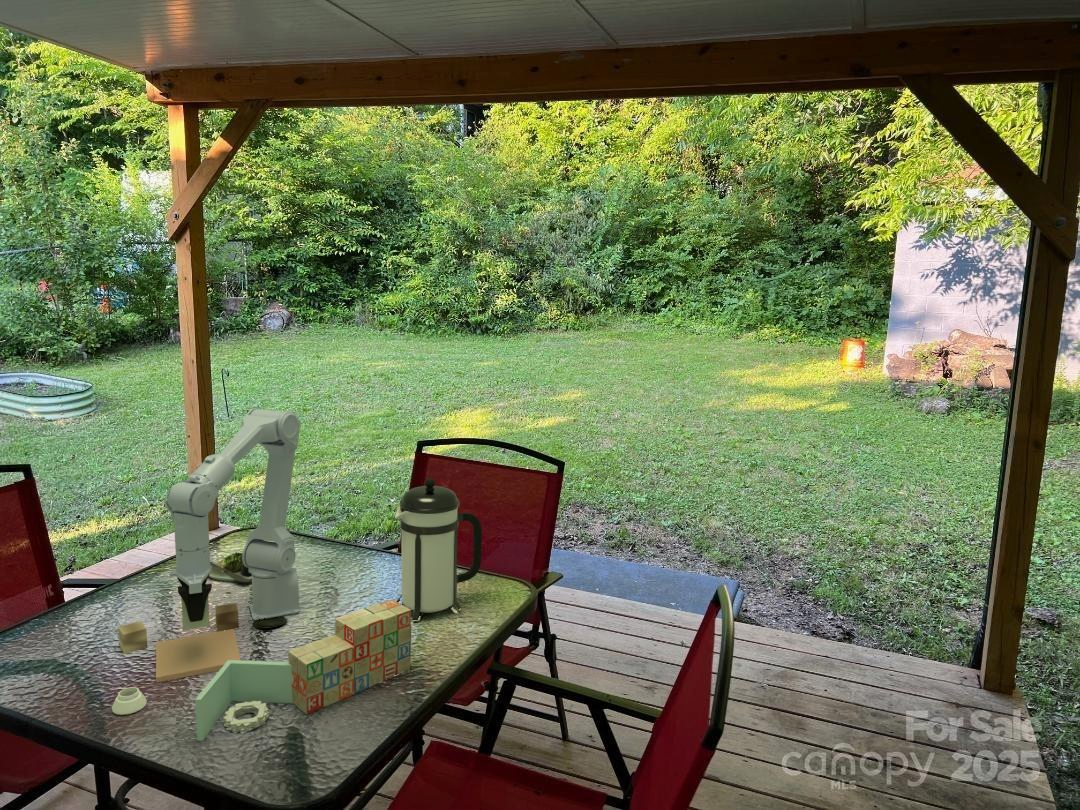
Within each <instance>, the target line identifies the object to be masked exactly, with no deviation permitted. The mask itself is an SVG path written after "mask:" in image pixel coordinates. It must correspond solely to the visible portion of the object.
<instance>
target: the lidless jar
mask: <svg viewBox="0 0 1080 810" xmlns="http://www.w3.org/2000/svg"><path fill="white" fill-rule="evenodd" d="M147 703H148V702H147V697H146V696H145V695H144V694H143V692H142V691H140V688H138V687H136V686H131V687H130V686H129V687H126V688H123V689H121V690H120V691H118V694H117V696H116V698H115V700H114V701H113V704H112V706H111V711H112V713H113V714H115V715H120V716H124V715H130V714H133V713H136V712H138V711H141V710H142V709H143V708H144V707H146V704H147Z"/></svg>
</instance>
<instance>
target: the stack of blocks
mask: <svg viewBox="0 0 1080 810" xmlns="http://www.w3.org/2000/svg"><path fill="white" fill-rule="evenodd" d="M411 647H412V610H411V609H409V608H407V607H406V606H405V605H404V604H403V605H401V604H399V603H397V601H396V600H393V599H389V600H387V601H384V602H380V603H375V604H372V605H369V606H366V607H364V608H361V609H359V610H355V611H352V612H350V613H347V614H344V615H341V616H339V617H336V618H334V634H332V635H329V636H328V637H325V638H321V639H318V640H315V641H313V642H310V643H307V644H305V645H302V646H299V647H296V648H293V649H290V650H289V651H288V652H287V655H288V656H287V657H288V658H287V659H288V661H287V662H288V663H289V664H290V665H291V669H292V670H291V672H292V674H293V682H292V683H293V684H292V701H293V703H292V704H293V705H295V706H296V707H297V708H298V710H299V709H300V711H302V712H303V713H305V714H306V715H308V714H310V713H313V712H315V711H317V710H319V709H322V708H326V707H328V706H330V705H333V704H335V703H338V702H339V701H342V700H343V699H346V698H349V697H351V696H353V695H355V693H356V694H357V692H358V693H360V692H362V690H363V691H364V689H365V690H367V689H369V688H371V686H372V687H373V685H374V686H376V685H375V684H376V683H379V682H381V681H384V680H386V679H387V678H390V677H392V676H394V675H397V674H399V673H400V672H402V671H404V670H407V669H409V668H410V667H411V668H412V664H411V663H412V656H411V653H412V651H411V650H412V649H411ZM384 682H385V681H384ZM381 683H382V682H381ZM379 684H380V683H379ZM368 687H369V688H368ZM366 688H367V689H366ZM359 691H360V692H359Z"/></svg>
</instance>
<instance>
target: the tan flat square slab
mask: <svg viewBox="0 0 1080 810" xmlns="http://www.w3.org/2000/svg"><path fill="white" fill-rule="evenodd" d="M236 636H237V635H236V632H235V629H230V630H225V631H219V632H217V631H214V632H208V633H203V634H197V635H191V636H190V635H189V636H185V637H179V638H173V639H168V640H162V641H161V640H160V641H156V642H155V683H162V682H166V681H172V680H178V679H181V678H187V677H194V676H197V675H203V674H208V673H213V672H219V670H220V669H221V668H222V667H223V666H224V664H225V663H226V662H227V661H228V660H241V656H240V651H239V647H238V642H237V637H236Z"/></svg>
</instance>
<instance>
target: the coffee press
mask: <svg viewBox="0 0 1080 810" xmlns="http://www.w3.org/2000/svg"><path fill="white" fill-rule="evenodd" d="M459 507H460V499H459V498H457V494H456V493H455V492H454V491H453V490H451V489H450V488H448V487H444V486H439V485H436V481H435V479H434V478H432V477H427V478H426V479H425V481H424V485H422V486H417V487H413V488H411V489H409V490H407V491H406V492H405V493H404V494H403V496H402V498H401V499H400V500H399V506H398V508H397V510H396V513H395V516H394V518H395V519H400V528H401V594H400V596H399V597H398V599H397V601H396V602H397V603H398V602H399V601H401V602H402V603H403V606H405V607H407V608H408V609H410V610H411V611H413V614H412V617H411V621H412V620H418V618H419V616H423V614H424V613H436V612H441V611H443V610H447V609H449V610H451V608H452V607H454V606H453V604H454V605H455V607H456V608H457V611H459V609H460V608H461V609H462V606H461V605H460V604H459V602H458V599H457V598H458V597H457V590H458V584H461V583H464V582H468V581H469V580H471V579H473V578H474V577H476V576H477V574H478V573H479V570H480V568H481V565H482V548H483V547H482V546H483V545H482V544H483V541H482V540H483V531H482V524H481V522H480V519H479V518H478V517H477V516H476V515H474V514H472V513H470V512H461V513H458V508H459ZM460 521H461V522H470V524H471V525H472V533H473V535H472V539H473V540H472V542H473V543H472V562H471V566H470V568H469V569H468V570H467V571H466V572H463V573H457V572H458V568H457V567H458V527H459V522H460Z"/></svg>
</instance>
